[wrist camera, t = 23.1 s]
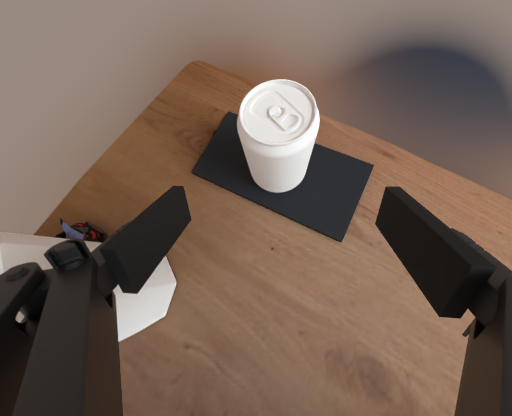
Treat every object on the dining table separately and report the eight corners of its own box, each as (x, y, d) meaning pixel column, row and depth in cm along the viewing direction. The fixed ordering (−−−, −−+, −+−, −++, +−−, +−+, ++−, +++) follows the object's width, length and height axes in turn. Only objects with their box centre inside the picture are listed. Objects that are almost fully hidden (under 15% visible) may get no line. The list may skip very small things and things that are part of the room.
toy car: (113, 236, 31) (89, 232, 27) (64, 312, 29) (30, 320, 25) (85, 219, 32) (58, 213, 28) (36, 290, 30) (-1, 295, 26)
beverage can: (277, 134, 32) (275, 61, 20) (317, 166, 30) (342, 105, 18) (239, 169, 31) (216, 114, 19) (279, 205, 29) (278, 167, 17)
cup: (86, 293, 29) (-211, 342, 11) (140, 231, 31) (-49, 189, 13) (137, 351, 27) (-152, 533, 9) (193, 280, 28) (45, 312, 10)
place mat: (372, 166, 29) (374, 165, 29) (340, 242, 27) (341, 241, 27) (229, 113, 35) (228, 111, 34) (192, 173, 32) (191, 172, 32)
